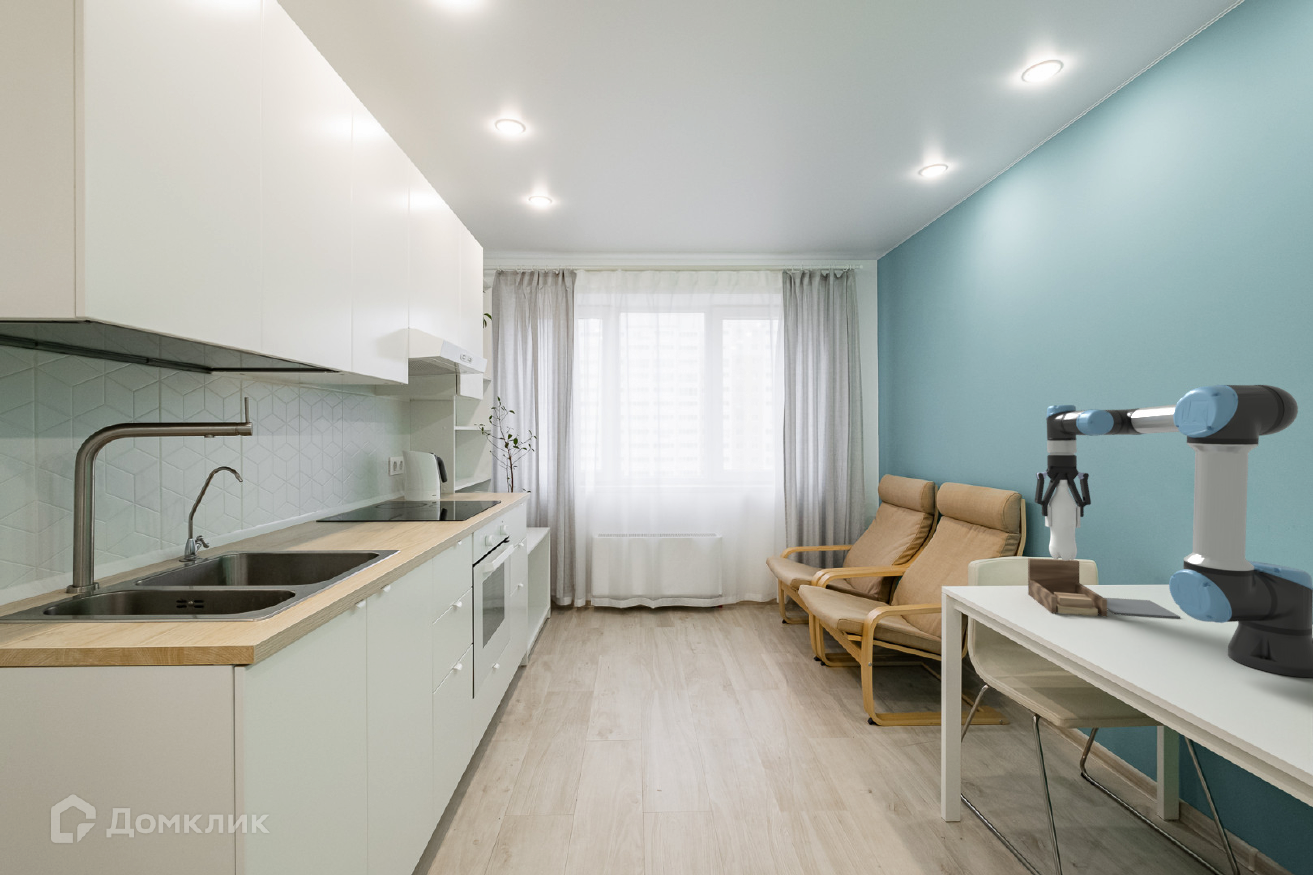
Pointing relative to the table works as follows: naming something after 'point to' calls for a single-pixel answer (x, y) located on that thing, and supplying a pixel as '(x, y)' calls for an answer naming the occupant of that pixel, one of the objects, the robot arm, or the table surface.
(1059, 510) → the water bottle
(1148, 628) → the table surface
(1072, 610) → the offcut lower
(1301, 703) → the table surface
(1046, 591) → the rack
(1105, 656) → the table surface
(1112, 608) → the mat
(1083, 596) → the offcut upper
